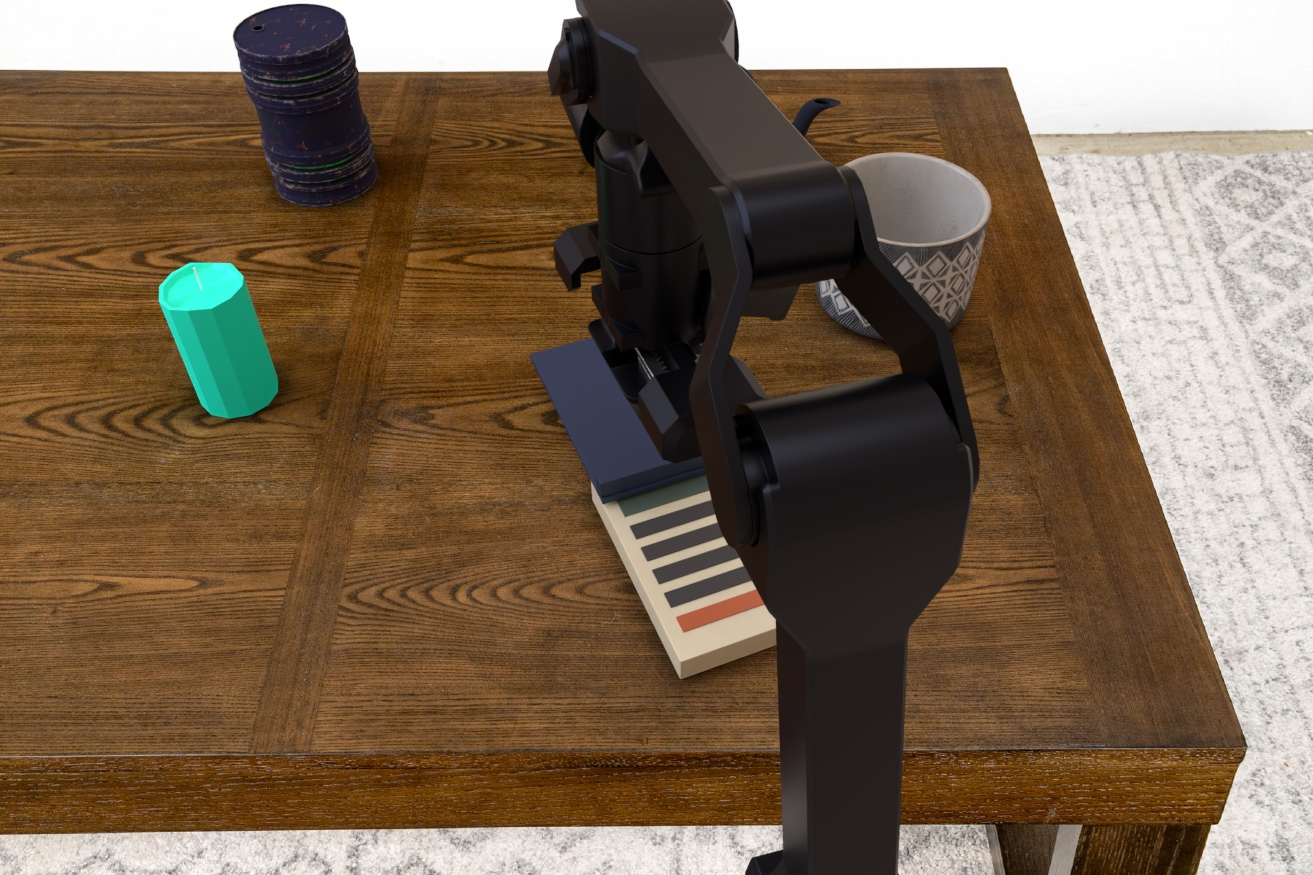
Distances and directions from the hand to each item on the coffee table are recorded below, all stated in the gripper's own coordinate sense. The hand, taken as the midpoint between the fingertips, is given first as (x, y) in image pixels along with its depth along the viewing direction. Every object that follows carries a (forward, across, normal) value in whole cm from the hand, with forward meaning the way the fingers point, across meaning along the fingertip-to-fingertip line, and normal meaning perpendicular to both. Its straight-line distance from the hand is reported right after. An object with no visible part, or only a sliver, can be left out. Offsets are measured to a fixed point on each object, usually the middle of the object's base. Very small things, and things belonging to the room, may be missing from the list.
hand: (656, 431), depth 72 cm
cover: (+8, +11, -2) cm, 13 cm away
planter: (+11, +16, -28) cm, 34 cm away
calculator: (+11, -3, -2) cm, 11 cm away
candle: (+11, +26, +24) cm, 37 cm away
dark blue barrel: (+10, +53, +13) cm, 56 cm away
